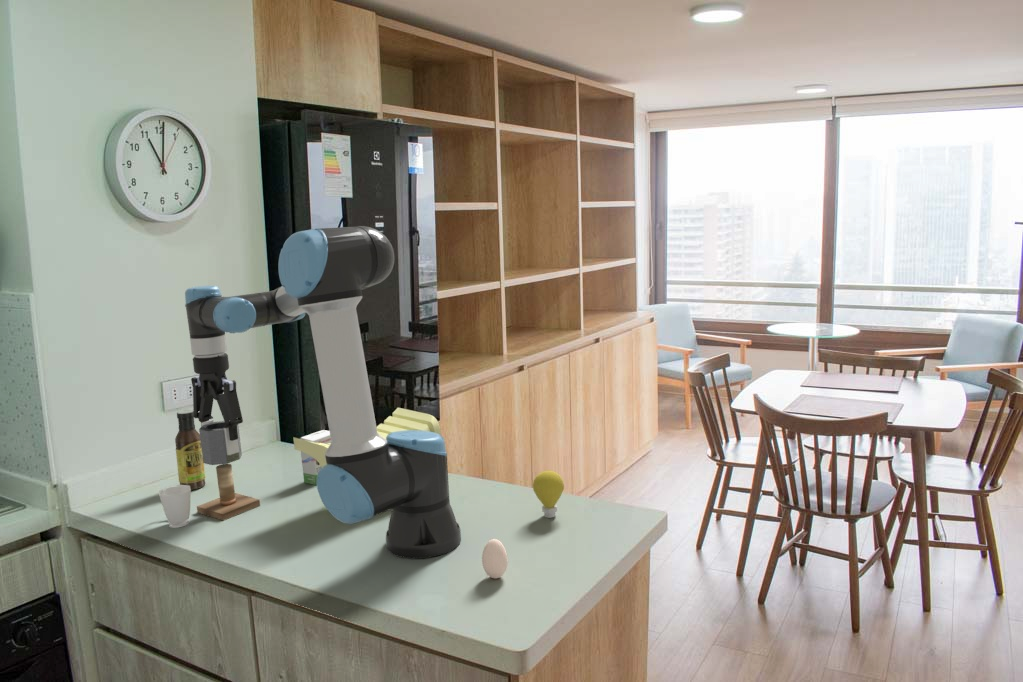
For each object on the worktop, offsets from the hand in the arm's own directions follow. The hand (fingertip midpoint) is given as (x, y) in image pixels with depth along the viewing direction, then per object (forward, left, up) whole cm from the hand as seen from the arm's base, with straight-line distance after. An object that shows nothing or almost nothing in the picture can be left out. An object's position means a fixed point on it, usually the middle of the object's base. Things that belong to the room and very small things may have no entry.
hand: (221, 450), depth 185 cm
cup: (+4, +11, -14) cm, 19 cm away
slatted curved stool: (-27, -21, -15) cm, 37 cm away
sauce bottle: (+22, -5, -14) cm, 27 cm away
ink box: (-4, -25, -15) cm, 29 cm away
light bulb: (-69, -32, -14) cm, 77 cm away
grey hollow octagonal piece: (0, 0, -2) cm, 2 cm away
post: (0, 0, -14) cm, 14 cm away
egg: (-76, -3, -14) cm, 77 cm away
